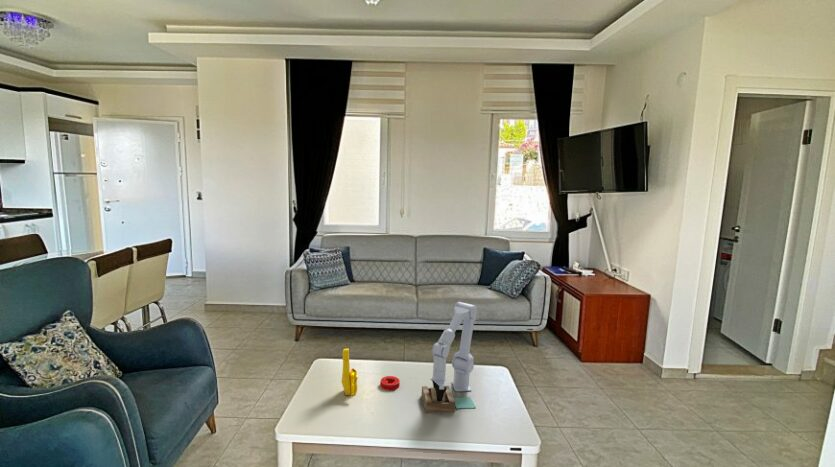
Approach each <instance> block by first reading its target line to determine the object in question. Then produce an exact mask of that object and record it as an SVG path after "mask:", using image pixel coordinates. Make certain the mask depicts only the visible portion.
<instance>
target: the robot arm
mask: <svg viewBox="0 0 835 467" xmlns="http://www.w3.org/2000/svg"><path fill="white" fill-rule="evenodd" d="M453 314H454V315H453V317H452V319H451V320H450V324H449V326H448V328H446V329H444V330H443V332H442V333H441V336H440V337H439V339H438V341H437V342H435V343H434V344H433V345H432V348H431V354H432V358H433V365H432V366H433V367H432V368H433V369H432V376H430V377H429V379H430V381H432V387H434V388H435V390H436V396H437V401H442V399H443V395H444V393H445V391H446V390H447V387H444V386H445V382H446V367H447V357H448V356H449V354H450V349H451V345H452V343H453V341H454V340H455V337H456V331H457V329H458V328H459V326H460V325H461V323H462V322H463V323H462V331H461V336H460V337H461V338H460V344H459V350H458V351H457V352H455V353H454V355H453V358H452V361H451V365H452V368H453V381H451V384H453V385H452V387H453V389H454V391H455V392H471V391H472V389H471V386H469V385H470V374H471V373H472V371H473V370H474V365H475V363H474V359H475V358H474V356H473V355H472V354H471V353H470V351H471V350H470V349H471V343H472V336H473V330H474V325H475V321H477V316H478V308H477V305H475V304H470V303H467V302H462V301H457V302H456V303H455V306H454V308H453ZM469 389H470V390H469Z"/></svg>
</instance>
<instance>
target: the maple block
mask: <svg viewBox="0 0 835 467" xmlns="http://www.w3.org/2000/svg"><path fill="white" fill-rule="evenodd" d="M430 388H431V400H432V402H445V393H444V395H443V399H442V401H437V396H436V390H435V388H434V387H433V386H432V387H430ZM445 392H446V391H445Z"/></svg>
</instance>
